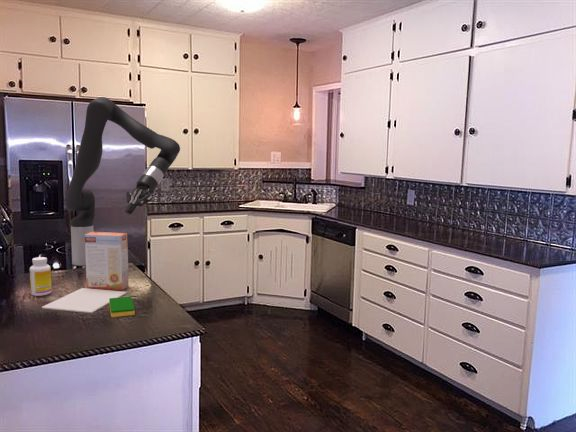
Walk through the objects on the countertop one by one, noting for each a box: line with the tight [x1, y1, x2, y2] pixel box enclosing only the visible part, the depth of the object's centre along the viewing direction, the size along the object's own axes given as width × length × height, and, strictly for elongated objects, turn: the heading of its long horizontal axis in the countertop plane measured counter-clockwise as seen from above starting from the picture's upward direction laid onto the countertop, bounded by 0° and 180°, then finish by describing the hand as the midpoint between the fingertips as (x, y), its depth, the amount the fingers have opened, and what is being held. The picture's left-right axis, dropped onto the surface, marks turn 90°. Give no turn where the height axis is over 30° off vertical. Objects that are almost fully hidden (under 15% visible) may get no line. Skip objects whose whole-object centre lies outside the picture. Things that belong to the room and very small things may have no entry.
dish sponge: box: [109, 296, 136, 318], centre depth 158 cm, size 7×14×2 cm, turn 22°
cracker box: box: [85, 231, 129, 291], centre depth 179 cm, size 14×6×21 cm, turn 84°
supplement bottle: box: [29, 256, 53, 297], centre depth 171 cm, size 7×7×13 cm
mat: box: [41, 287, 128, 314], centre depth 166 cm, size 22×18×1 cm
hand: (127, 212), depth 186 cm, fingers closed
